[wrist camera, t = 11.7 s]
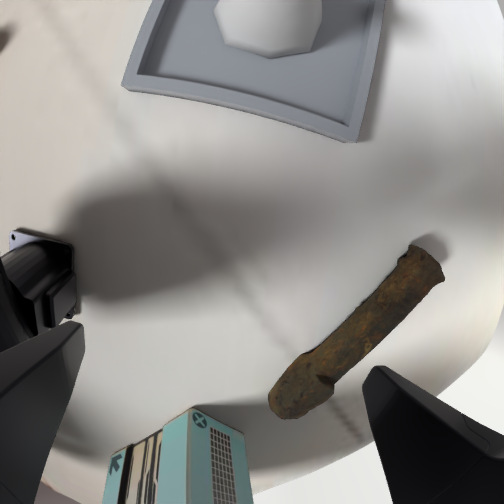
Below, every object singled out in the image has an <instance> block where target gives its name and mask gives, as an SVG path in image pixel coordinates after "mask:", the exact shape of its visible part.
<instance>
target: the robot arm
mask: <svg viewBox="0 0 504 504" xmlns="http://www.w3.org/2000/svg"><path fill="white" fill-rule="evenodd" d="M14 235H15V237H16V238H15V237H14ZM9 244H10V251H9V252H7V253H6V254H4V255H3V256H1V257H0V504H34V501H35V497H36V493H37V490H38V486H39V483H40V480H41V477H42V473H43V470H44V467H45V464H46V461H47V458H48V455H49V452H50V449H51V447H52V444H53V441H54V438H55V436H56V433H57V430H58V428H59V425H60V423H61V420H62V418H63V415H64V413H65V410H66V408H67V405H68V403H69V400H70V398H71V395H72V392H73V388H74V385H75V382H76V378H77V375H78V372H79V369H80V366H81V362H82V359H83V356H84V353H85V339H84V327H83V325H82V324H81V323H78V322H74V321H67V322H65V323H63V324H61V325H59V324H60V322H61V321H62V320H63V318H67V319H72V317H73V316H74V314H75V310H74V304H75V303H76V274H75V272H74V247H73V246H72V245H71V244H70V243H67V242H63V241H58V240H54V239H50V238H46V237H42V236H38V235H34V234H30V233H26V232H22V231H18V230H13V231H12V232H10V235H9ZM66 248H68V249H69V253H68V252H67V251H66ZM68 312H69V313H70V314H69V313H68ZM58 325H59V326H58ZM49 329H50V330H49ZM362 391H363V395H364V400H365V404H366V409H367V414H368V418H369V423H370V427H371V430H372V434H373V437H374V440H375V443H376V446H377V450H378V453H379V456H380V459H381V462H382V466H383V470H384V473H385V476H386V480H387V483H388V487H389V490H390V494H391V498H392V501H393V504H504V435H502V434H500V433H498V432H496V431H494V430H492V429H490V428H488V427H486V426H484V425H482V424H480V423H478V422H476V421H475V420H473V419H471V418H469V417H468V416H466V415H464V414H463V413H462V414H461V412H459V411H458V410H456V409H454V408H453V407H451V406H449V405H448V404H446V403H444V402H443V401H441V400H440V399H438V398H436V397H435V396H433V395H431V394H430V393H428V392H426V391H425V390H423V389H422V388H420V387H418V386H417V385H415V384H414V383H412V382H410V381H409V380H407V379H406V378H404V377H402V376H401V375H399V374H398V373H396V372H394V371H393V370H391V369H390V368H388V367H386V366H374V367H373V368H372V369H371V371H370V373H369V374H368V376H367V378H366V379H365V381H364V383H363V386H362Z"/></svg>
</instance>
